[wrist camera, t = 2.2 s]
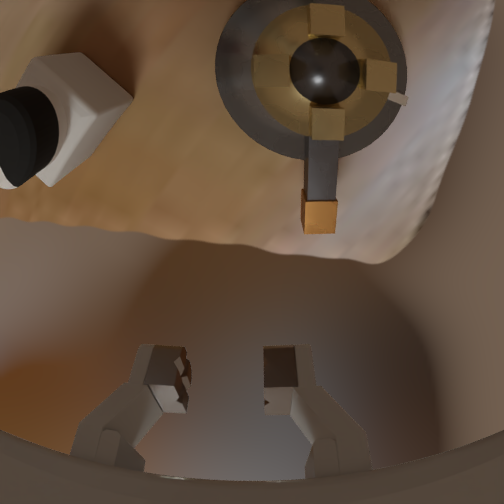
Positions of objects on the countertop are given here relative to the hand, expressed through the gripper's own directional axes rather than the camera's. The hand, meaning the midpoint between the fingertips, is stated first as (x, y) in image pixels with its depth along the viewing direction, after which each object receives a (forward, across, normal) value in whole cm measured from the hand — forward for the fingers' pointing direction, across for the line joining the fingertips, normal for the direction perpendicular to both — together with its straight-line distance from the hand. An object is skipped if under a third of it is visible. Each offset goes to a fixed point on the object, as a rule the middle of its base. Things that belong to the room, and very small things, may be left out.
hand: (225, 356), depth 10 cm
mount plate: (+19, -6, -8) cm, 21 cm away
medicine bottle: (+19, +14, -7) cm, 25 cm away
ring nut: (+16, -6, -4) cm, 18 cm away
